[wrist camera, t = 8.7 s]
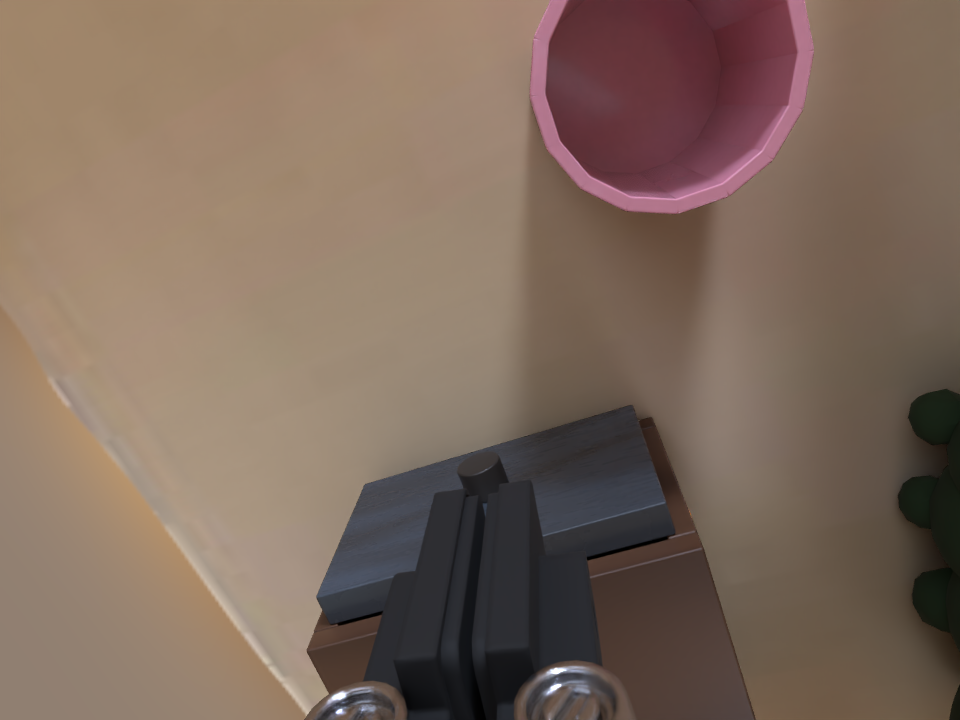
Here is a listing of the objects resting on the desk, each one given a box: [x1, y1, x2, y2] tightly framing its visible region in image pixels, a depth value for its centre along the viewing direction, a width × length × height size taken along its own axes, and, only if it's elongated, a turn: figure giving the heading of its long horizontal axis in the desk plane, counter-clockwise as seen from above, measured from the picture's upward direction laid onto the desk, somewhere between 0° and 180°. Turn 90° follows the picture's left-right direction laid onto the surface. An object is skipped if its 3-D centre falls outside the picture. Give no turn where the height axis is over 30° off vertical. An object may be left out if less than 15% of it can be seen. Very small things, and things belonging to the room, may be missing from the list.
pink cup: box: [530, 0, 814, 214], centre depth 21 cm, size 7×7×8 cm
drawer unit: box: [307, 417, 756, 720], centre depth 28 cm, size 15×13×9 cm
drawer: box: [316, 405, 676, 625], centre depth 28 cm, size 15×12×7 cm
